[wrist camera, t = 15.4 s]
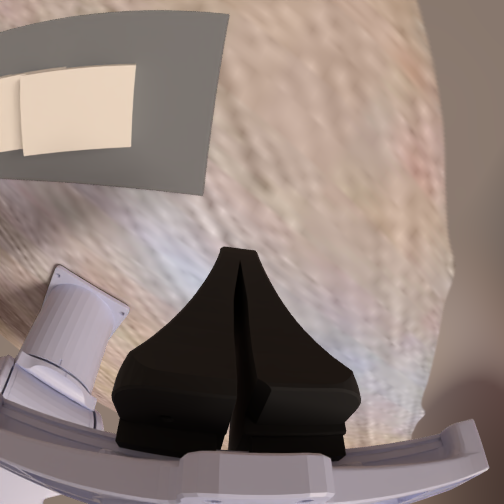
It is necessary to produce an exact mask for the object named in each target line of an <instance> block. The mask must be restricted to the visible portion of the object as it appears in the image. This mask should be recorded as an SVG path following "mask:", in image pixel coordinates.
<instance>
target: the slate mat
mask: <svg viewBox="0 0 504 504" xmlns="http://www.w3.org/2000/svg"><path fill="white" fill-rule="evenodd" d="M228 20H229V14H221V13H210V12H196V11H170V10H148V11H122V12H108V13H98V14H89V15H81V16H73V17H67V18H61V19H55V20H50V21H44V22H40V23H35V24H30V25H26V26H22V27H18V28H14V29H10V30H7V31H3V32H0V77H1V76H5V75H10V74H12V75H14V74H20V73H25V72H31V71H37V70H43V69H50V68H58V67H66V68H71V67H81V66H94V65H110V64H136V71H135V82H134V95H133V111H132V133H131V147H120V148H102V149H88V150H76V151H65V152H55V153H46V154H37V155H29V156H24V153H23V149H18V150H11V151H5V152H0V179H17V180H36V181H52V182H67V183H80V184H93V185H105V186H116V187H126V188H136V189H146V190H156V191H165V192H174V193H182V194H191V195H199V196H203V193H204V184H205V175H206V167H207V158H208V150H209V142H210V135H211V127H212V120H213V113H214V106H215V99H216V92H217V85H218V79H219V73H220V66H221V60H222V54H223V48H224V43H225V37H226V31H227V26H228Z"/></svg>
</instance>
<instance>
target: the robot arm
mask: <svg viewBox="0 0 504 504" xmlns="http://www.w3.org/2000/svg"><path fill="white" fill-rule="evenodd" d="M59 274H60V275H59ZM129 311H130V308H129V306H127V305H126V304H124V303H122V302H120V301H119V300H117V299H115V298H113V297H112V296H110V295H108V294H106V293H105V292H103V291H101V290H100V289H98V288H96V287H95V286H93V285H91V284H90V283H88V282H86V281H85V280H83V279H82V278H80V277H78V276H77V275H75V274H74V273H72V272H70V271H69V270H67V269H66V268H64V267H63V266H60V265H58V266H57V267H56V268H55V270H54V273H53V276H52V279H51V281H50V284H49V287H48V290H47V293H46V296H45V299H44V302H43V305H42V308H41V310H40V312H39V314H38V316H37V318H36V319H35V321H34V323H33V325H32V327H31V329H30V331H29V333H28V335H27V337H26V339H25V341H24V343H23V345H22V347H21V349H20V351H19V353H18V355H17V356H16V358H15V359H14V358H13V357H12V356H10V355H7V356H3V357H0V504H43V501H44V499H46V498H49V497H53V496H58V495H65V496H67V497H70V498H73V499H76V500H79V501H81V502H84V503H88V504H410V503H413V502H416V501H419V500H422V499H425V498H428V497H431V496H434V495H437V494H440V493H442V492H445V491H448V490H451V489H453V488H455V487H457V486H458V485H461V484H463V483H464V482H466V481H468V480H470V479H472V478H474V477H476V476H477V475H479V474H481V473H483V472H485V471H486V470H488V468H489V466H488V462H487V459H486V456H485V453H484V450H483V446H482V443H481V440H480V437H479V434H478V431H477V428H476V425H475V422H474V420H473V419H469V420H466V421H462V422H458V423H455V424H452V425H450V426H448V427H447V428H446V429H444V430H443V431H442V432H441V433H440V434H437V435H432V436H428V437H423V438H418V439H413V440H407V441H402V442H396V443H390V444H383V445H376V446H368V447H360V448H350V449H345V445H344V439H343V435H344V434H346V427H345V421H346V420H347V419H348V418H349V417H350V416H351V415H352V414H353V413H354V412H355V411H356V410H357V408H358V407H359V405H360V403H361V397H360V392H359V388H358V385H357V382H356V379H355V377H354V374H353V371H352V370H350V369H349V368H347V367H346V366H345V365H343V364H342V363H341V362H339V361H338V360H336V359H335V358H334V357H332V356H331V355H330V354H329V353H328V352H327V351H325V350H324V349H323V348H322V347H321V346H320V345H319V344H318V343H316V342H315V341H314V340H313V339H312V338H311V336H310V335H309V334H308V333H307V332H306V331H305V330H304V329H303V328H302V327H301V326H300V325H299V324H298V322H297V321H296V320H295V319H294V317H293V316H292V315H291V314H290V312H289V311H288V309H287V308H286V307H285V305H284V304H283V302H282V301H281V299H280V297H279V296H278V294H277V293H276V291H275V289H274V287H273V286H272V284H271V282H270V280H269V278H268V276H267V274H266V272H265V270H264V268H263V266H262V264H261V261H260V259H259V257H258V254H257V252H256V251H255V250H247V249H239V248H231V247H222V248H221V249H220V253H219V256H218V258H217V260H216V262H215V264H214V266H213V268H212V270H211V272H210V273H209V275H208V277H207V278H206V280H205V281H204V283H203V284H202V286H201V287H200V288H199V290H198V291H197V293H196V294H195V295H194V296H193V298H192V299H191V300H190V301H189V302H188V304H187V305H186V306H185V307H184V308H183V309H182V310H181V311H180V312H179V313H178V314H177V315H176V316H175V317H174V318H173V319H172V320H171V321H170V322H169V323H168V324H167V325H166V326H164V327H163V328H162V329H161V330H159V331H158V332H157V333H156V334H155V335H153V336H152V337H151V338H149V339H148V340H147V341H145V342H144V343H142V344H141V345H139V346H138V347H136V348H135V349H133V350H132V351H130V352H129V354H128V355H127V357H126V359H125V360H124V362H123V364H122V366H121V368H120V370H119V372H118V374H117V377H116V380H115V384H114V387H113V391H112V401H113V403H114V406H115V408H116V411H117V413H118V415H119V417H120V420H119V425H118V430H117V434H114V433H110V432H106V431H104V426H103V422H102V417H101V415H100V413H99V412H98V411H97V410H95V409H94V408H95V405H96V401H97V399H96V398H95V397H93V396H92V395H91V393H92V390H93V386H94V383H95V380H96V377H97V373H98V370H99V367H100V364H101V361H102V358H103V355H104V352H105V349H106V346H107V343H108V340H109V339H110V338H111V336H112V335H113V333H114V332H115V331H116V329H117V328H118V327H119V325H120V324H121V323H122V321H123V320H124V319H125V317H126V316H127V315H128V313H129ZM229 423H230V431H229V445H228V450H221V447H222V443H223V440H224V436H225V435H226V433H227V430H228V426H229Z"/></svg>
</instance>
